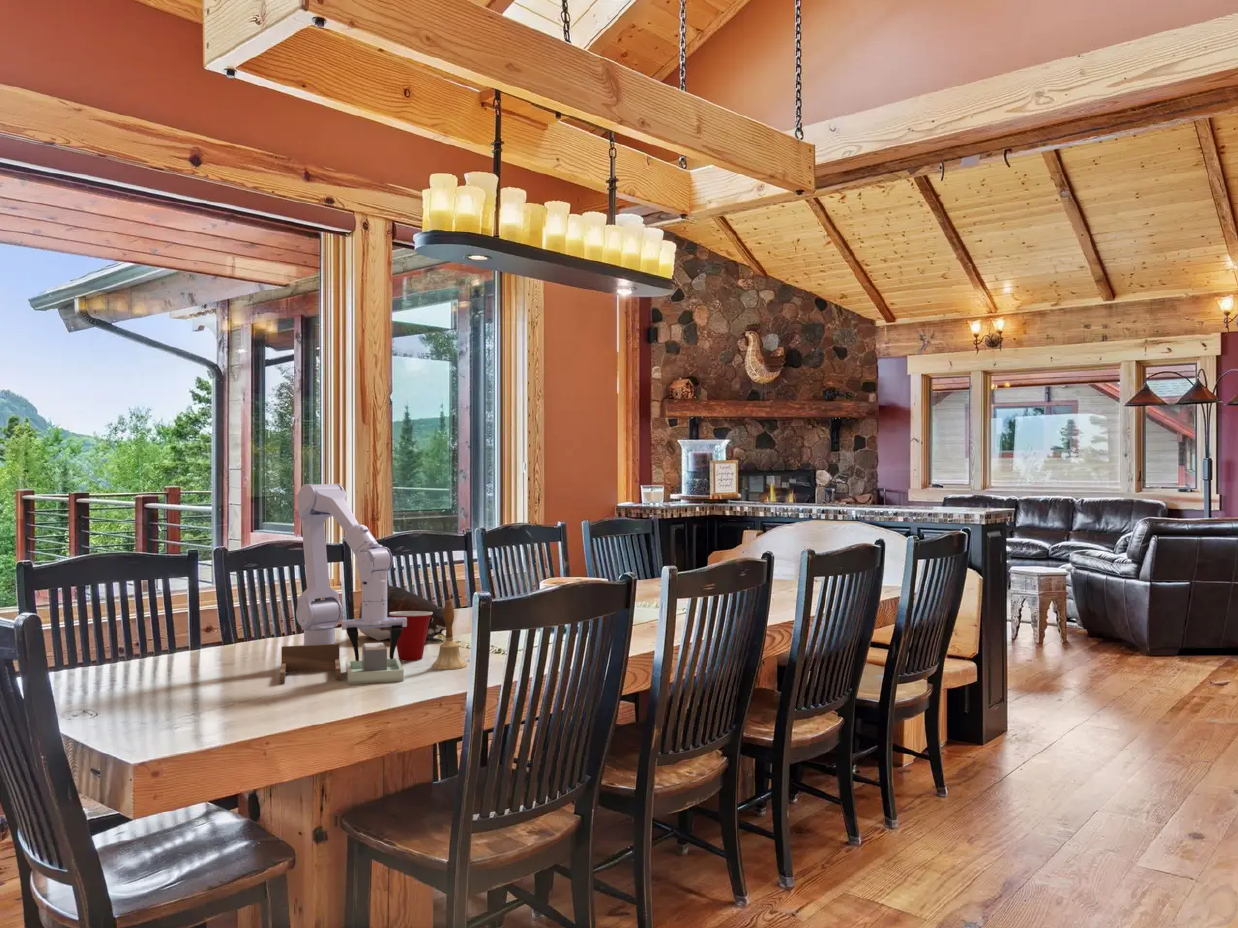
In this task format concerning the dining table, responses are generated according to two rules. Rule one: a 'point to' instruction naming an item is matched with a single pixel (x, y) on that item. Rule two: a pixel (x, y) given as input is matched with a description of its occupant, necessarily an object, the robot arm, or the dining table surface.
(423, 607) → the clay pot
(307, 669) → the dock
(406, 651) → the plastic cup
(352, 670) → the tray
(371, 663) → the grey upright block
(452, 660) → the hand bell
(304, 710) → the dining table surface
